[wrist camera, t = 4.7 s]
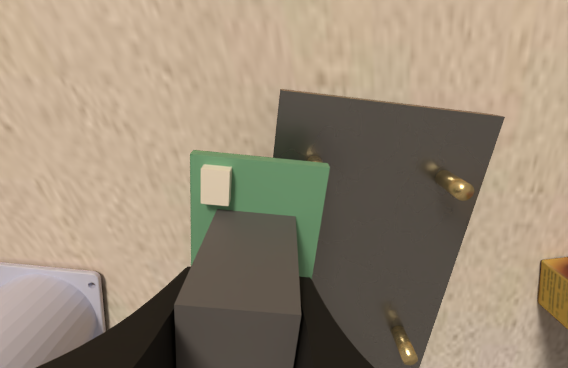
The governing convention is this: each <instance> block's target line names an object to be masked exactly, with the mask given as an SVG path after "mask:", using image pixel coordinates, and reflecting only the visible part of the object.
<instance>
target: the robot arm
mask: <svg viewBox="0 0 568 368" xmlns="http://www.w3.org/2000/svg"><path fill="white" fill-rule="evenodd" d="M190 268H191V267H187V268H185V269H184V270H183V271H182V272H181V273H180V274H179V275H178V276H177V277H176V278H174V279H173V280H172V281H171V282H170V283H169V284H168V285H167V286H166V287H165V288H163V289H162V290H161V291H160V292H159V293H158V294H156V295H155V296H154V297H153V298H152V299H150V300H149V301H148V302H147V303H145V304H144V305H143V306H142V307H140V308H139V309H138V310H136V311H135V312H134V313H133V314H131V315H130V316H128V317H127V318H126V319H124V320H123V321H121V322H120V323H118V324H117V325H115V326H114V327H112V328H111V329H109V330H107V331H106V328H105V317H104V306H103V295H102V284H101V276H100V274H99V273H97V272H95V271H89V270H78V269H67V268H57V267H46V266H36V265H25V264H15V263H4V262H0V368H176V343H175V316H174V304H175V301H176V299H177V297H178V295H179V293H180V290H181V288H182V286H183V284H184V281H185V279H186V277H187V275H188V273H189V270H190ZM91 282H92V283H94V284H95V285H93V284H92V283H91ZM299 283H300V301H301V321H300V327H299V333H298V340H297V346H296V352H295V359H294V365H293V368H374V367H373V366H372V365H371V364H370V363H369V362H368V361H367V360H366V359H365V358H364V357H363V355H362V354H361V353H360V352H359V351H358V350H357V349H356V347H355V346H354V345H353V344H352V343H351V341H350V340H349V339H348V338H347V336H346V335H345V334H344V332H343V331H342V330H341V328H340V327H339V325H338V324H337V322H336V321H335V320H334V318H333V317H332V315H331V313H330V312H329V310H328V309H327V307H326V305H325V304H324V302H323V300H322V298H321V297H320V295H319V293H318V291H317V289H316V287H315V285H314V283H313V281H312V279H311V278H310V277H300V276H299Z"/></svg>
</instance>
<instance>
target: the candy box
mask: <svg viewBox="0 0 568 368" xmlns="http://www.w3.org/2000/svg"><path fill="white" fill-rule="evenodd" d="M538 303H539V304H540V305H541V306H542V307H544V308H545V309H546V310H547V311H548V312H549V313H550V314H551V315H552V316H554V317H555V318H556V319H557V320H558V321H559V322H560V323H561V324H562V325H563V326H565V327H566V328H567V329H568V257H564V258H555V259H546V260H542V261H541V272H540V282H539V293H538Z"/></svg>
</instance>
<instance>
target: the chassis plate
mask: <svg viewBox="0 0 568 368" xmlns="http://www.w3.org/2000/svg"><path fill="white" fill-rule="evenodd" d="M504 118H505V117H503V116H498V115H493V114H486V113H477V112H469V111H460V110H452V109H444V108H435V107H427V106H419V105H410V104H402V103H393V102H385V101H377V100H368V99H360V98H351V97H343V96H335V95H326V94H318V93H309V92H301V91H293V90H284V89H280V98H279V108H278V117H277V126H276V136H275V145H274V155H273V158H280V159H290V160H301V161H311V162H321V163H328V164H329V167H330V170H329V176H328V182H327V188H326V194H325V201H324V207H323V213H322V219H321V225H320V231H319V237H318V243H317V249H316V256H315V262H314V268H313V274H312V281H313V283H314V285H315V287H316V289H317V291H318V293H319V295H320V297H321V298H322V300H323V302H324V304H325V305H326V307H327V309H328V310H329V312H330V313H331V315H332V317H333V318H334V320H335V321H336V322H337V324H338V325H339V327H340V328H341V330H342V331H343V332H344V334H345V335H346V336H347V338H348V339H349V340H350V341H351V343H352V344H353V345H354V346H355V347H356V349H357V350H358V351H359V352H360V353H361V354H362V355H363V357H364V358H365V359H366V360H367V361H368V362H369V363H370V364H371V365H372V366H373V367H374V368H419V367H420V364H421V361H422V358H423V355H424V352H425V349H426V346H427V343H428V340H429V337H430V334H431V332H432V329H433V326H434V323H435V320H436V317H437V314H438V311H439V308H440V305H441V302H442V299H443V296H444V293H445V290H446V288H447V285H448V282H449V279H450V276H451V273H452V270H453V267H454V264H455V261H456V258H457V255H458V252H459V249H460V247H461V244H462V241H463V238H464V235H465V232H466V229H467V226H468V223H469V220H470V217H471V214H472V211H473V208H474V205H475V203H476V200H477V197H478V194H479V191H480V188H481V185H482V182H483V179H484V176H485V173H486V170H487V167H488V164H489V161H490V159H491V156H492V153H493V150H494V147H495V144H496V141H497V138H498V135H499V132H500V129H501V126H502V123H503V120H504Z"/></svg>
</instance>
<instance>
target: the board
mask: <svg viewBox="0 0 568 368" xmlns="http://www.w3.org/2000/svg"><path fill="white" fill-rule="evenodd" d="M329 170H330V167H329V164H328V163H321V162H311V161H301V160H290V159H280V158H270V157H260V156H250V155H240V154H229V153H219V152H209V151H199V150H193V151H192V152H191V153H190V193H191V268H190V270H189V273H188V275H187V277H186V279H185V281H184V284H183V286H182V288H181V290H180V293H179V295H178V297H177V299H176V301H175V304H174V316H175V343H176V368H293V365H294V359H295V352H296V346H297V340H298V333H299V327H300V321H301V301H300V283H299V276H300V277H310V278H311V279H312V274H313V268H314V262H315V256H316V249H317V243H318V237H319V231H320V225H321V219H322V213H323V207H324V201H325V194H326V188H327V182H328V176H329Z"/></svg>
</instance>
